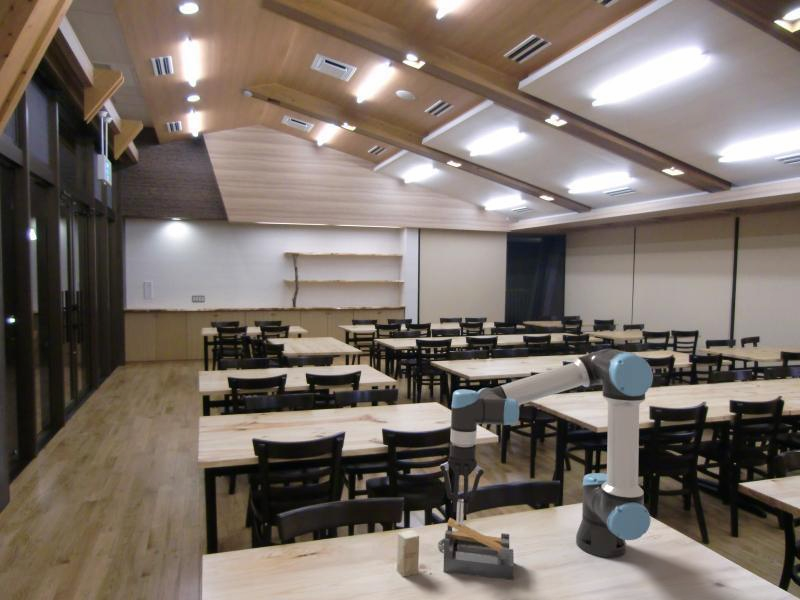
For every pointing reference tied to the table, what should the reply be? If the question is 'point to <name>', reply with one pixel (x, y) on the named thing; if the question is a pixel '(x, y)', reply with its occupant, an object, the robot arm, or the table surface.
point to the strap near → (476, 535)
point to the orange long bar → (465, 537)
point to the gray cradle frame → (481, 560)
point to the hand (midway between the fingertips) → (459, 522)
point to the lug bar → (449, 544)
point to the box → (408, 553)
